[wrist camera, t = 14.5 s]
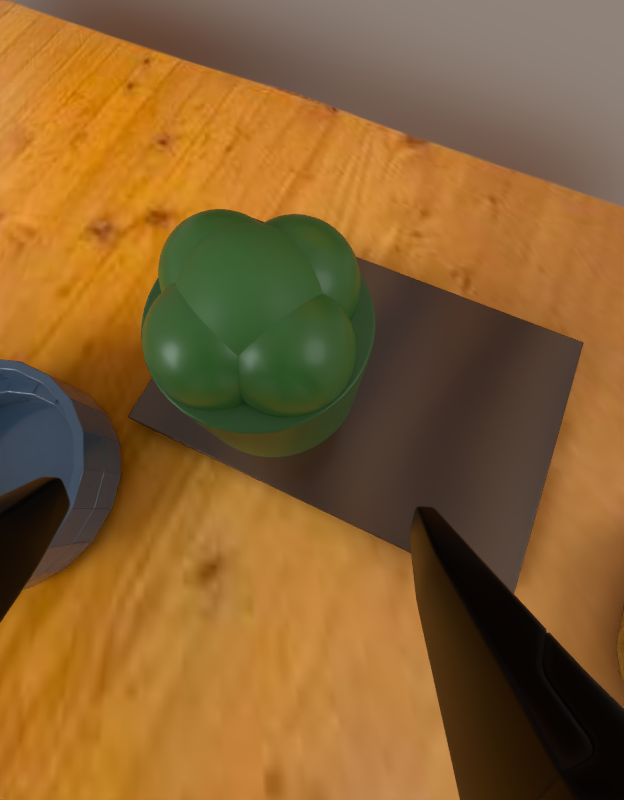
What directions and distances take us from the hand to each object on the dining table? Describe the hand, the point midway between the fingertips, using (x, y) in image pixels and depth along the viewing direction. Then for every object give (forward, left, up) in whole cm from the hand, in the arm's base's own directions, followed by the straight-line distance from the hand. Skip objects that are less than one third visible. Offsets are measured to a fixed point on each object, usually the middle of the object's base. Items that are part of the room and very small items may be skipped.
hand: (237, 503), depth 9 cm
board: (-1, -8, -11) cm, 14 cm away
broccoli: (+2, -5, -10) cm, 11 cm away
